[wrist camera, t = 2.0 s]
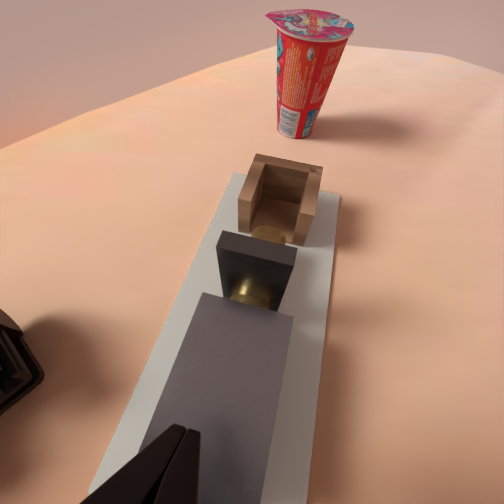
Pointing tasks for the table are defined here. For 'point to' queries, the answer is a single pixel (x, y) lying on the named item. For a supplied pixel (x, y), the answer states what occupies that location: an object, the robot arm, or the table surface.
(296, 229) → the socket
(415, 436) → the table surface
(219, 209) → the board
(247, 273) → the sliding bolt
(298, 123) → the cup
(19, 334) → the end cap
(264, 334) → the sleeve
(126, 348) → the table surface
